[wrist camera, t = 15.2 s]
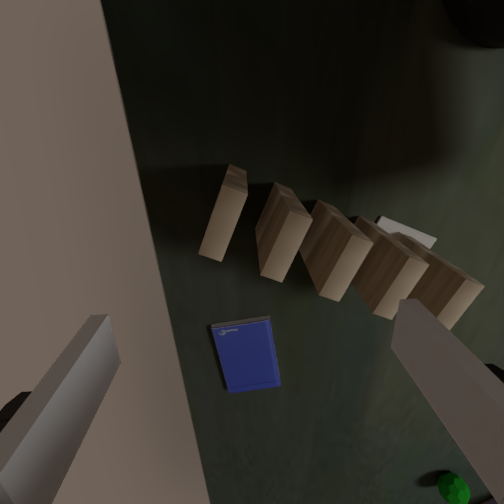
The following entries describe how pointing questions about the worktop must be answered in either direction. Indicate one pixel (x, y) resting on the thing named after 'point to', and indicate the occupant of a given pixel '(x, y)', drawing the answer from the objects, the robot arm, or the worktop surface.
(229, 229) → the domino
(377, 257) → the domino
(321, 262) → the domino
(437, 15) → the worktop surface
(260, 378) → the hard drive
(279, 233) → the domino
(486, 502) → the cake pan box
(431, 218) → the worktop surface
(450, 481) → the polyhedron
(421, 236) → the end pad
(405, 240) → the domino
